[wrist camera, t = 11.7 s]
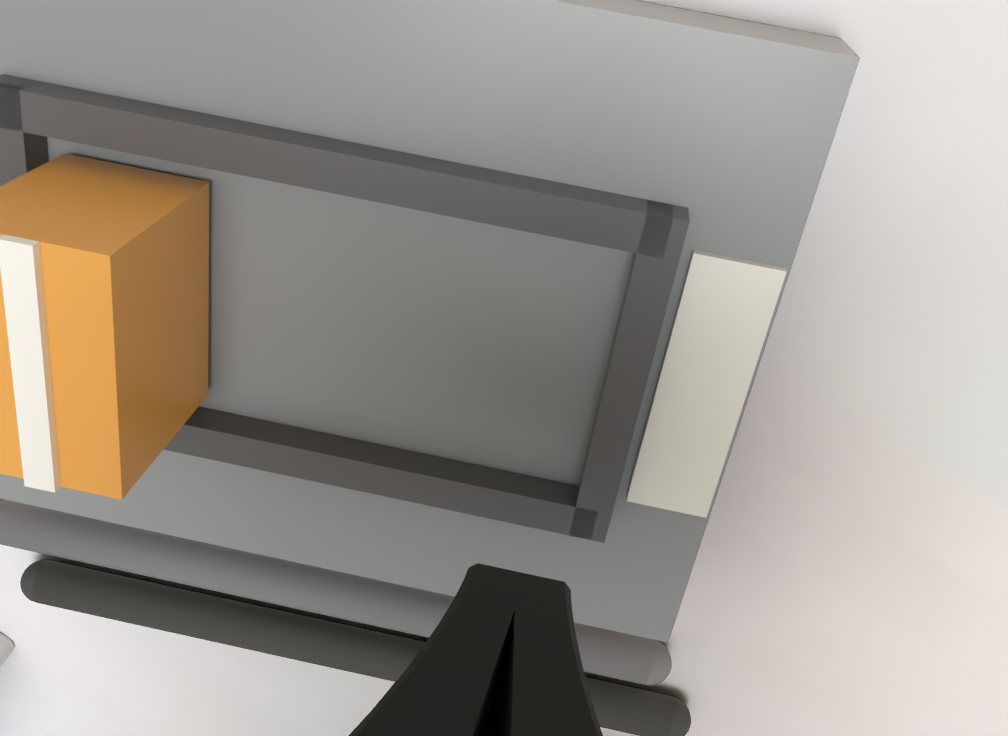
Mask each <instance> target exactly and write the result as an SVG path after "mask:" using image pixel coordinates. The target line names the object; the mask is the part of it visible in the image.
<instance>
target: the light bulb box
mask: <svg viewBox="0 0 1008 736" xmlns="http://www.w3.org/2000/svg"><path fill="white" fill-rule="evenodd" d="M13 648H14V644H13V642H12V641H11V640H10V639H9V638H7V637H6V636H4V635H3V634H1V633H0V665H1V664H2V663H3V662H4V660H5V659H6V658H7V657H8V655H9V654H10V653H11V651H12V650H13Z"/></svg>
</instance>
